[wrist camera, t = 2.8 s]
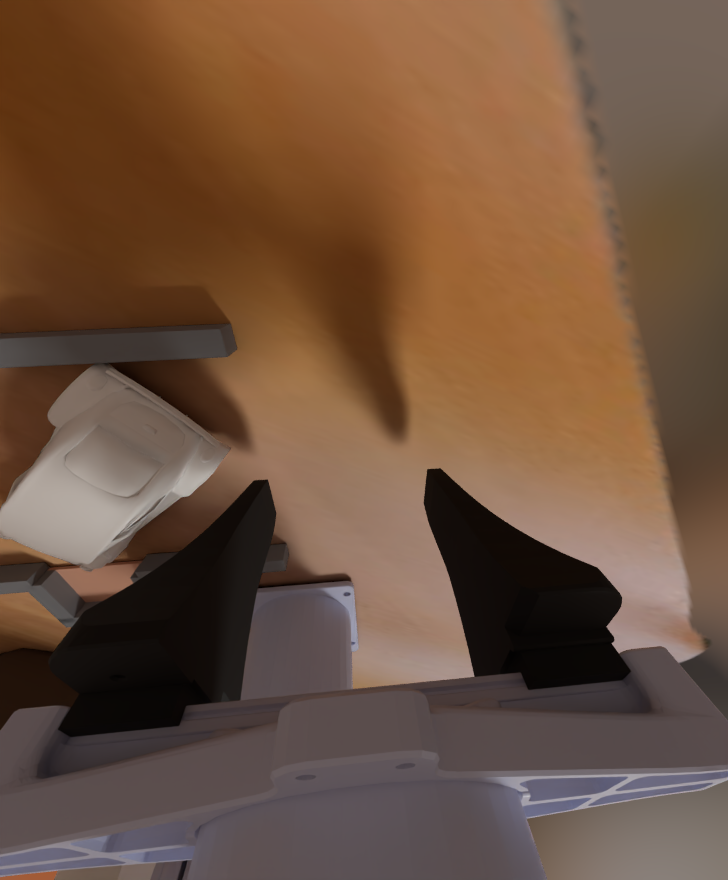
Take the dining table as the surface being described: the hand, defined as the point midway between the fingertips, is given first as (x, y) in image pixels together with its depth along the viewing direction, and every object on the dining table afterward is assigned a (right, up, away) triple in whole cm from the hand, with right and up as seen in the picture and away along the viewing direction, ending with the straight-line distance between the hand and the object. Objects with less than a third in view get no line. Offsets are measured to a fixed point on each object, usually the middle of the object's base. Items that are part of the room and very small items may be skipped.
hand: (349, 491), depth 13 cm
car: (-12, +1, +2) cm, 12 cm away
